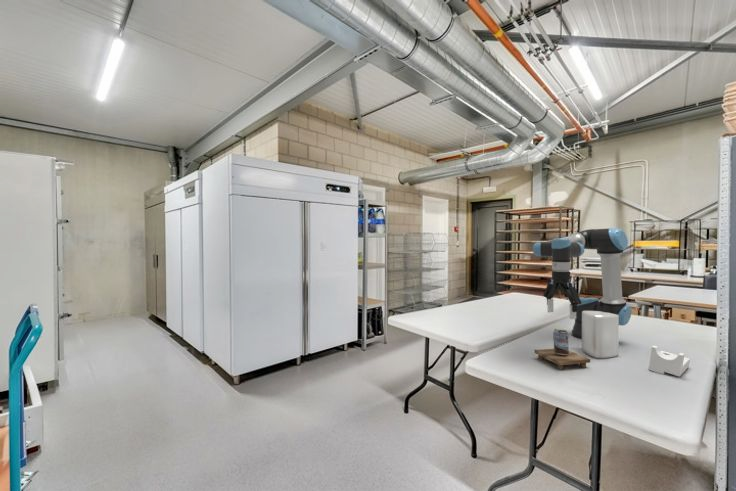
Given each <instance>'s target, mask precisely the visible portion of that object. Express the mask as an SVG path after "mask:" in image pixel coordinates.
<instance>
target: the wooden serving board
mask: <svg viewBox="0 0 736 491" xmlns="http://www.w3.org/2000/svg"><path fill="white" fill-rule="evenodd" d="M534 354H535V355H537V356H538V360H539V359H540V361H545V359H546V360H548V361H550V362H552V363H554V364H556V369H557V370H560V371H561V370H563V371H564V366H568V365H577V364H578V365H579V367H580V368H584V369H585V368H587V364H588V363H589V364H590V363H591V359H590V358H588V357H586V356H584V355H581V354H580V353H579V354H578V353H576V352H574V351H572V350H570V349H569V354H567V355H560V354H556V353H555V352H554V347H552V348H542V349H540V348H539V349H534Z"/></svg>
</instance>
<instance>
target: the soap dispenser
mask: <svg viewBox="0 0 736 491" xmlns="http://www.w3.org/2000/svg"><path fill="white" fill-rule="evenodd" d="M619 326H620V325H619V315H617V314H612V313H607V312H601V311H582V339H581V350H582V351H583V352H585V353H586V354H588V356H591V357H593V358H595V359H609V358H615V357H619V354H620V353H619V352H620V350H619V349H620V346H619V345H620V343H619V341H620V340H619V339H620V336H619V335H620V330H619V329H620V328H619Z"/></svg>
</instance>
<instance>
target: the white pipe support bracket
mask: <svg viewBox="0 0 736 491" xmlns="http://www.w3.org/2000/svg"><path fill="white" fill-rule="evenodd" d="M650 350H651V351H650V359H649V366H648V370H649V371H651V372H655V373H658V374H661V375H665V373H666V374H671V375H673V376H676V377H678V378H679V377H681V376H682V375H683V373H684V372H685V371H686V370H687V369H688V368H689V367H690V362H691V358H689V357H686V356H685V353H683V352H679V353H678V354H675V353H671V352H667V351H665V350H659V346H658V345H654V344H653V346H651V349H650Z"/></svg>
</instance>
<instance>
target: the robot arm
mask: <svg viewBox="0 0 736 491" xmlns="http://www.w3.org/2000/svg"><path fill="white" fill-rule="evenodd" d="M628 243H629V242H628V237H627V234H626V232H625V231H624V230H623V229H621V228H612V227H610V228H590V229H584V230H581V231H577V232H573V233H571V234H569V235H568V236H565V237H561V238H560V237H559V238H553V239H552V240H549V241H544V242H543V241H540V242H538V241H537V242H535V243H534V244H533V246H532V253H533V254H534V255H535V256H536V257H546V258H549V257H551V270H552V271H551V279H548V280H547V285H546V287H545V290H544V293H543V298H545V299H546V306H547V313H554V297H555V295H556V294H557V292H558V291H561V292H562V293H564V294H565V296H566V298H567V299H568V302H569V319H570V320H574V324H573V327H572V329H571V336H573V338H577V339H581V340H582V311H601V312H607V313H612V314H617V315H619V326H626V325H627V324H629V322H630V320H631V317H632V310H633V309H632V307H631V306H630V305H628V304H627V300H625V299H624V298H623V289H622V286H623V285H622V284H623V283H622V270H621V269H622V267H621V255H622V254H623V253H624V251H626V249H627V248H628ZM585 250H596V254H597V255H599V256H600V268H601V269H600V270H601V284H602V285H601V286H602V298H600V299H599V298H597V297H580V295H579V294H578V290H577V288H576V282H570V280H571V258H574V259H575V258H579V257H581V256H582V255H583V254H584V253H585Z"/></svg>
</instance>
